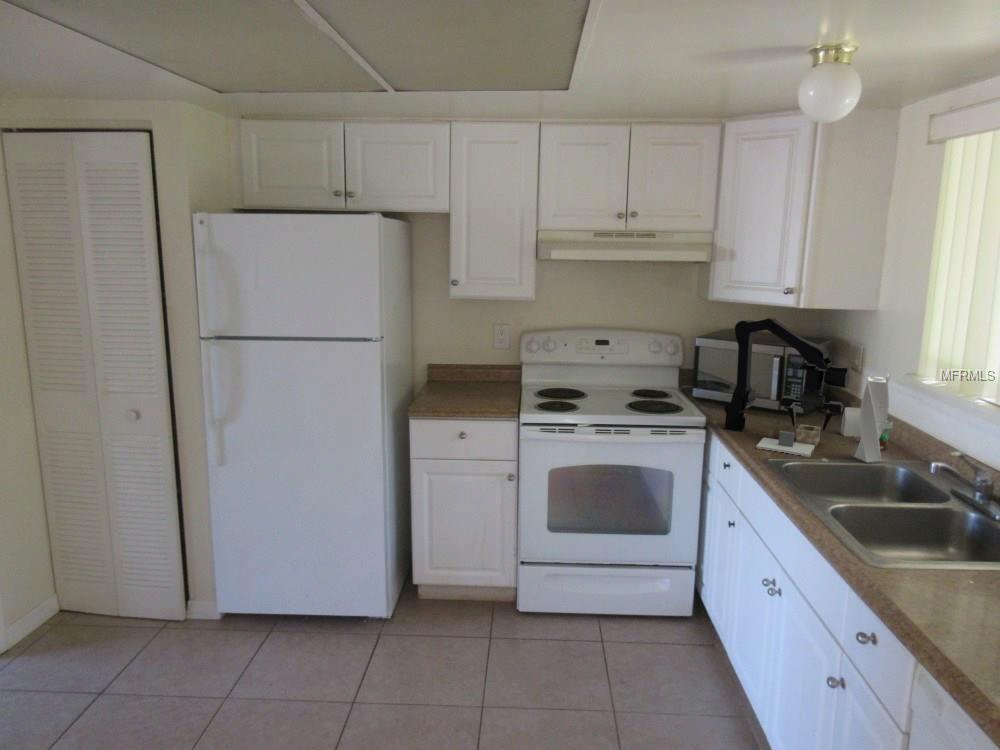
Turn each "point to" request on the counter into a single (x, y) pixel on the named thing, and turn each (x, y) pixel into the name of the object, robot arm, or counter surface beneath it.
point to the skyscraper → (873, 419)
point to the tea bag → (851, 422)
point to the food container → (885, 434)
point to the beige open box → (808, 434)
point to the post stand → (786, 445)
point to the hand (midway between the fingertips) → (808, 428)
